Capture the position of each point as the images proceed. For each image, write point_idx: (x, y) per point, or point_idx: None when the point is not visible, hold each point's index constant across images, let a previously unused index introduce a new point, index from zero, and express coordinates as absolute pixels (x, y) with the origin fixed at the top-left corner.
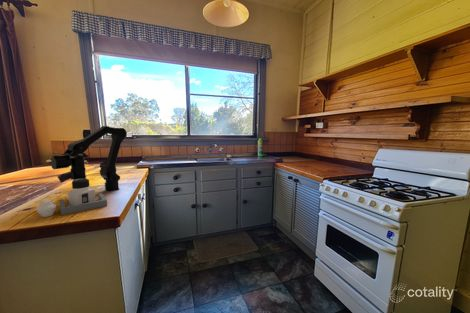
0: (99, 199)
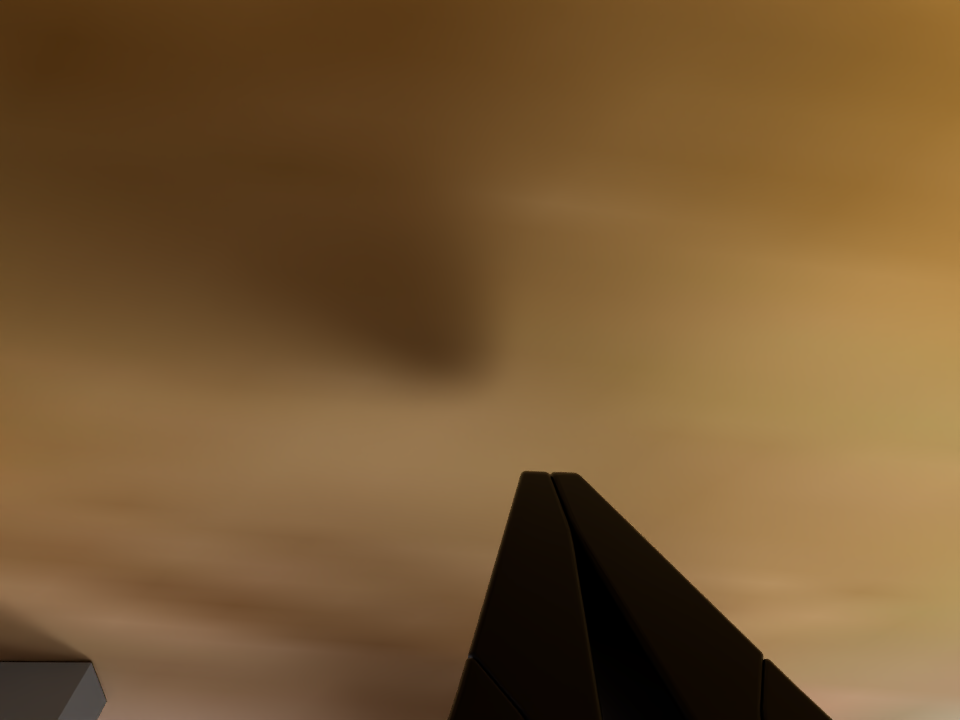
0: (7, 671)
